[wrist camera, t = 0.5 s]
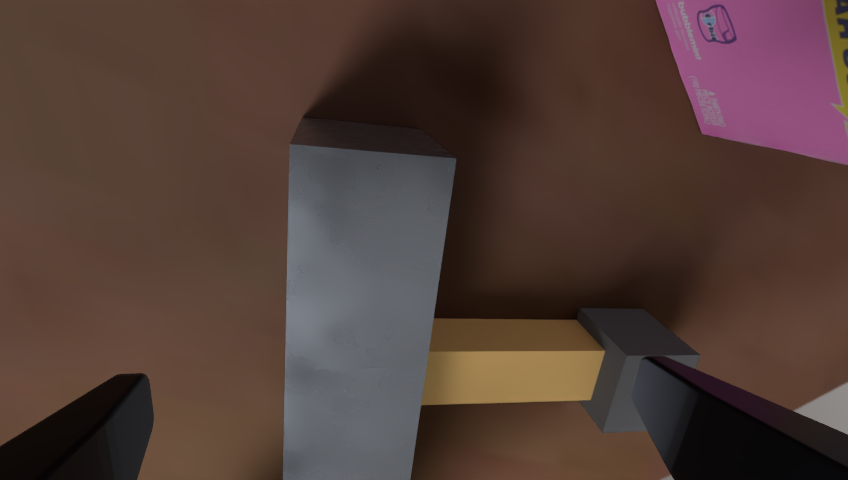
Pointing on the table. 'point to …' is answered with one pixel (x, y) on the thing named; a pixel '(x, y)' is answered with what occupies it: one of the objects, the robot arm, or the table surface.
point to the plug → (550, 361)
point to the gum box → (765, 71)
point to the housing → (360, 295)
